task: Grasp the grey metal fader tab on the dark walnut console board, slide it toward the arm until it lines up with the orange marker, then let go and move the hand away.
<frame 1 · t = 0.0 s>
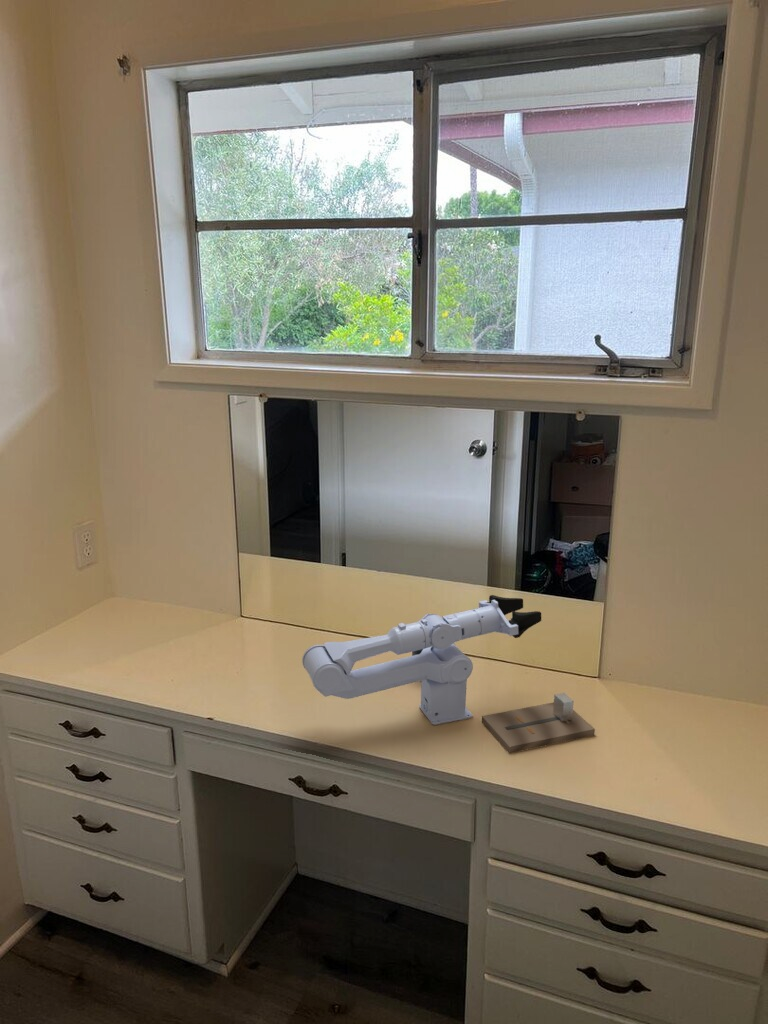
hand: (531, 609, 163), 22 cm above the table, tool horizontal, fingers open, 7 cm apart
fader tab: (563, 707, 157), point 4 cm above the table, slide at 0.0 cm
console board: (537, 728, 157), on the table
supplement bottle: (425, 674, 180), on the table
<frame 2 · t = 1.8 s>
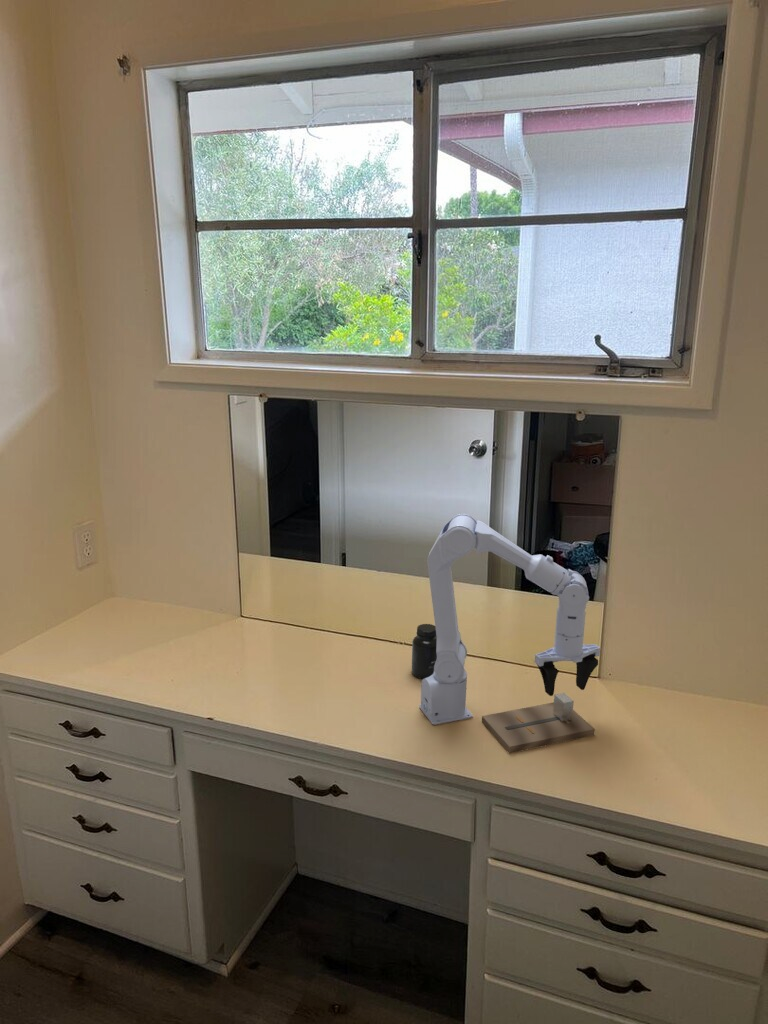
hand: (564, 690, 156), 8 cm above the table, tool pointing down, fingers open, 7 cm apart
nothing on the table moved.
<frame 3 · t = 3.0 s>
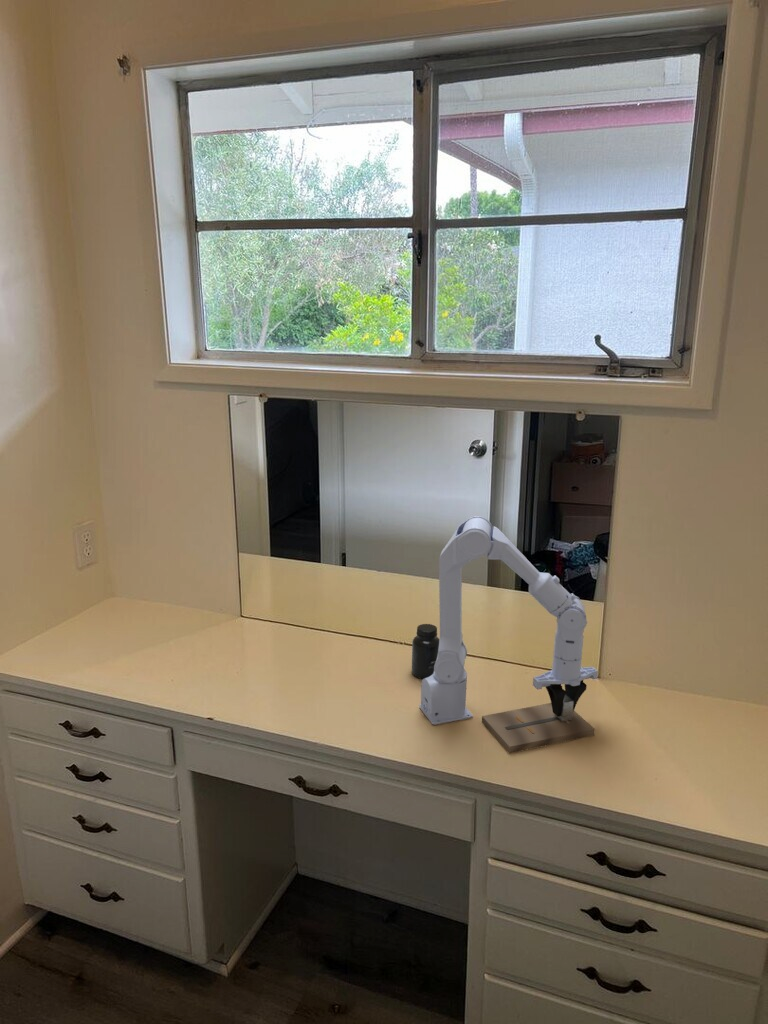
hand: (562, 712, 158), 3 cm above the table, tool pointing down, fingers closed on fader tab, 2 cm apart
fader tab: (563, 707, 157), point 4 cm above the table, slide at 0.0 cm, touching gripper
everything else where it was.
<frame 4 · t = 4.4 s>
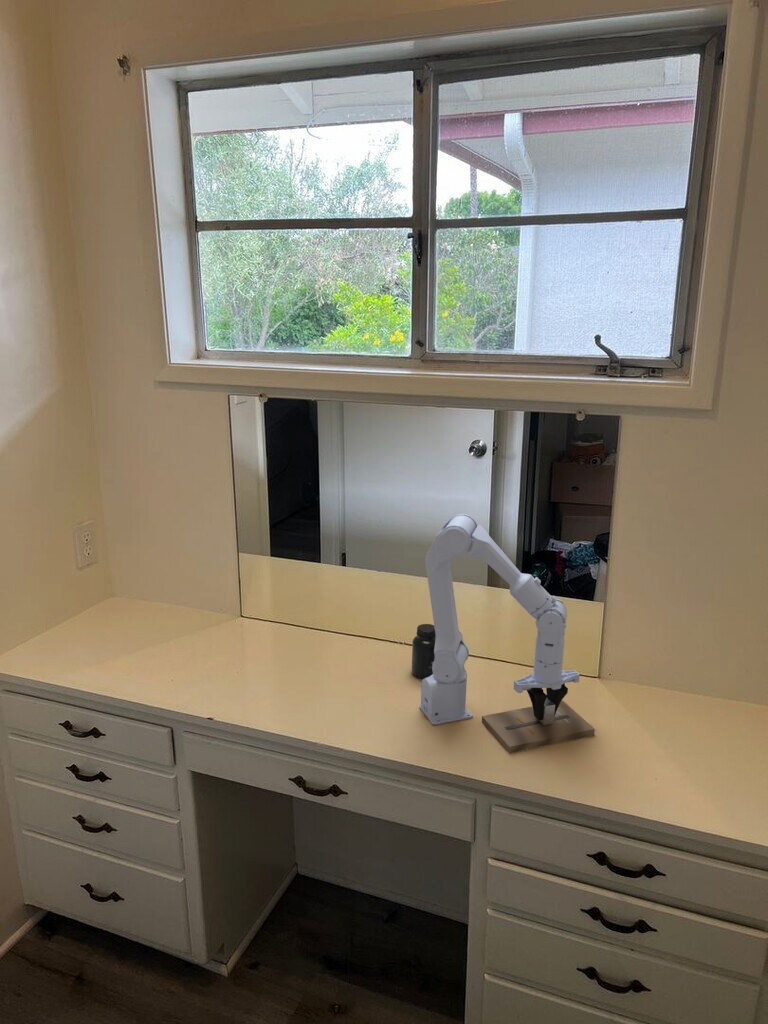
hand: (544, 716, 156), 3 cm above the table, tool pointing down, fingers closed on fader tab, 2 cm apart
fader tab: (544, 710, 156), point 4 cm above the table, slide at 4.5 cm, touching gripper
everything else where it was.
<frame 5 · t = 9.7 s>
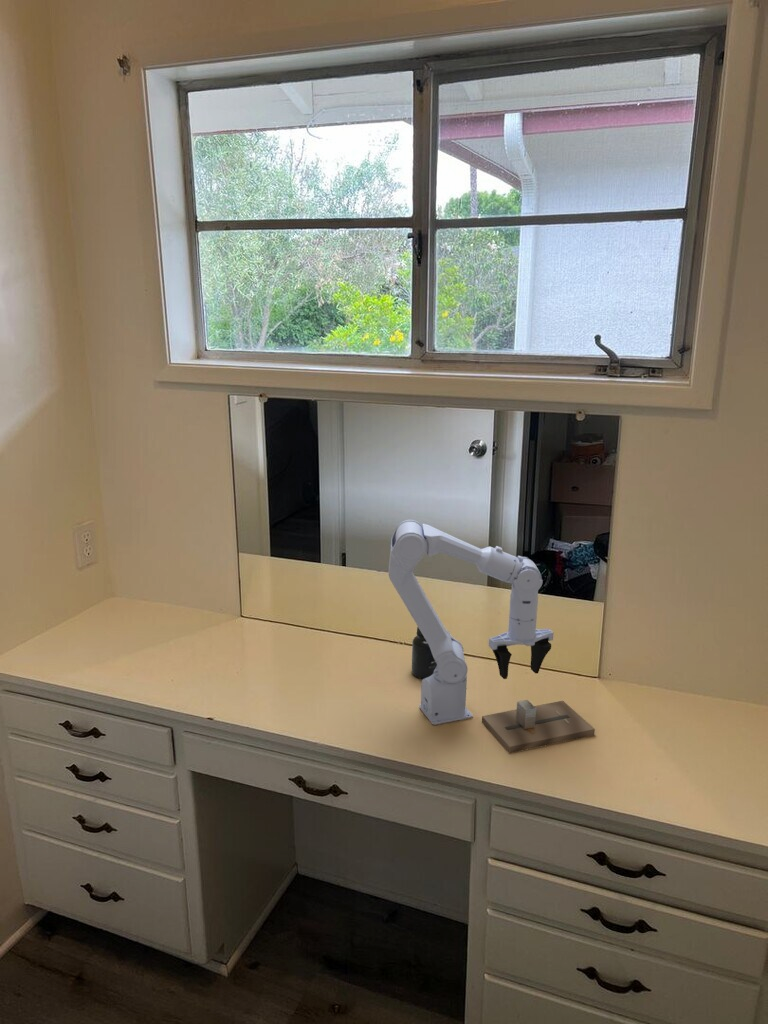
hand: (519, 674, 160), 9 cm above the table, tool pointing down, fingers open, 7 cm apart
fader tab: (525, 714, 154), point 4 cm above the table, slide at 9.0 cm
everything else where it was.
at the end: fader tab slide at 9.0 cm; the gripper is holding nothing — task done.
